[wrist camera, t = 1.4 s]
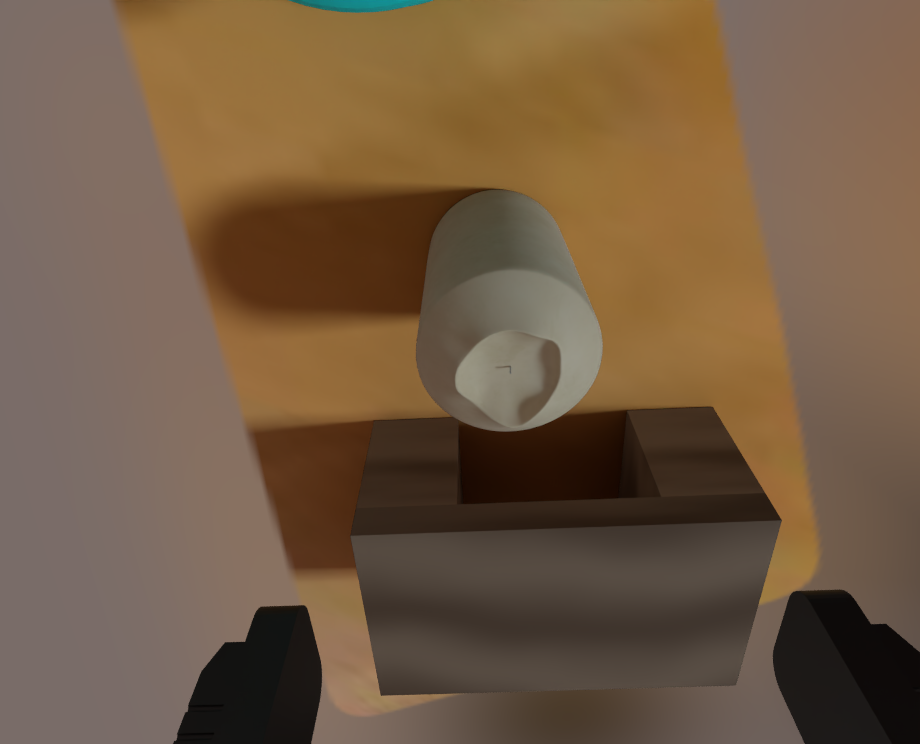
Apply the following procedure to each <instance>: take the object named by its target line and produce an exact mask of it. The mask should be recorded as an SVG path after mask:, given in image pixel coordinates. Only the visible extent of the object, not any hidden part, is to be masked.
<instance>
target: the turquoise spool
mask: <svg viewBox="0 0 920 744" xmlns="http://www.w3.org/2000/svg"><path fill="white" fill-rule="evenodd" d="M289 1H292V2H296V3H299V4H302V5H305V6H309V7H314V8H319V9H323V10H331V11H338V12H355V13H360V12H379V11H387V10H393V9H398V8H403V7H407V6H413V5H418V4H423V3H426V2H430V1H433V0H289Z"/></svg>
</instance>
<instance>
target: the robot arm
mask: <svg viewBox="0 0 920 744" xmlns="http://www.w3.org/2000/svg"><path fill="white" fill-rule="evenodd" d="M773 665H774V671H775V676H776V680H777V683H778V686H779V688H780V691H781V693H782V695H783V697H784V700H785V702H786V704H787V706H788V708H789V710H790V712H791V715H792V717H793V719H794V721H795V723H796V726H797V728H798V730H799V732H800V734H801V736H802V738H803V741H804V743H805V744H920V652H919V651H918V650H916V649H915V648H914V647H913V646H912V645H910V644H909V643H908V642H907V641H906V640H905V639H903V638H902V637H901V636H900V635H899V634H897V633H896V632H895V631H894V630H893V629H892V628H890V627H889V626H888V625H887V624H870V622H869V621H868V619H867V618H866V616H865V614H864V613H863V611H862V610H861V608H860V607H859V606H858V604H857V602H856V601H855V600H854V598H853V597H852V596H851V595H850V594H849V593H848V592H846V591H844V590H817V591H816V590H814V591H795V592H793V593H792V594H791V595H790V597H789V600H788V603H787V607H786V610H785V613H784V616H783V620H782V623H781V626H780V630H779V633H778V636H777V640H776V643H775V646H774V650H773ZM321 686H322V668H321V660H320V656H319V652H318V648H317V644H316V640H315V636H314V632H313V629H312V625H311V621H310V617H309V613H308V610H307V608H306V606H304V605H299V606H270V607H260V608H259V609H258V610H257V611H256V613H255V615H254V618H253V621H252V624H251V626H250V629H249V632H248V635H247V638H246V641H245V642H225V643H224V645H223V646H222V647H221V648H220V649H219V651H218V652H217V653H216V654H215V656H214V657H213V658H212V659H211V661H210V662H209V663H208V664H207V665H206V667H205V668H204V669H203V670H202V672H201V674H200V676H199V679H198V682H197V684H196V687H195V689H194V692H193V695H192V697H191V699H190V702H189V705H188V712H186V713H185V715H184V717H183V720H182V723H181V725H180V728H179V730H178V733H177V735H178V736H177V740H176V741H174V743H173V744H311V741H312V736H313V731H314V727H315V722H316V717H317V712H318V707H319V702H320V695H321Z"/></svg>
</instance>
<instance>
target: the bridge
mask: <svg viewBox="0 0 920 744" xmlns="http://www.w3.org/2000/svg"><path fill="white" fill-rule="evenodd" d="M781 521H782V520H781V518H780V517H779V515H778V513H777V512H776V510H775V508H774V507H773V505H772V504H771V502H770V500H769V499H768V497H767V495H766V494H765V492H764V490H763V489H762V487H761V485H760V484H759V482H758V481H757V479H756V477H755V476H754V474H753V472H752V471H751V469H750V467H749V466H748V464H747V462H746V461H745V459H744V458H743V456H742V454H741V453H740V451H739V449H738V448H737V446H736V444H735V443H734V441H733V439H732V438H731V436H730V435H729V433H728V431H727V430H726V428H725V426H724V425H723V423H722V421H721V420H720V418H719V416H718V415H717V413H716V412H715V410H714V408H713V407H699V408H675V409H651V410H627V416H626V426H625V437H624V447H623V457H622V467H621V477H620V487H619V497H618V498H616V499H589V500H562V501H535V502H509V503H482V504H463V490H462V475H461V459H460V444H459V429H458V419H456V418H432V419H408V420H383V421H374V424H373V428H372V433H371V438H370V443H369V448H368V453H367V458H366V462H365V467H364V472H363V477H362V482H361V487H360V491H359V496H358V501H357V506H356V511H355V516H354V520H353V525H352V530H351V535H350V537H351V542H352V547H353V553H354V558H355V563H356V568H357V573H358V579H359V584H360V589H361V594H362V599H363V605H364V610H365V615H366V620H367V625H368V631H369V636H370V641H371V646H372V652H373V657H374V662H375V667H376V672H377V678H378V683H379V688H380V693H381V696H382V695H417V694H452V693H484V692H485V693H487V692H520V691H521V692H522V691H556V690H590V689H627V688H661V687H696V686H730V685H736V683H737V679H738V676H739V672H740V669H741V665H742V661H743V658H744V654H745V650H746V647H747V643H748V640H749V636H750V633H751V629H752V625H753V622H754V618H755V615H756V611H757V608H758V604H759V600H760V597H761V593H762V590H763V586H764V582H765V579H766V575H767V572H768V568H769V564H770V561H771V557H772V554H773V550H774V546H775V543H776V539H777V536H778V532H779V528H780V525H781Z"/></svg>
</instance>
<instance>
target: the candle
mask: <svg viewBox="0 0 920 744" xmlns="http://www.w3.org/2000/svg"><path fill="white" fill-rule="evenodd" d="M602 346H603V344H602V335H601V330H600V327H599V323H598V320H597V318H596V316H595V313H594V311H593V308H592V306H591V303H590V301H589V299H588V296H587V294H586V291H585V289H584V287H583V284H582V282H581V279H580V277H579V275H578V272H577V270H576V267H575V265H574V262H573V260H572V258H571V255H570V253H569V250H568V248H567V246H566V243H565V241H564V238H563V236H562V234H561V232H560V229H559V227H558V225H557V224H556V222H555V220H554V219H553V217H552V216H551V215H550V214H549V212H548V211H547V210H546V209H545V208H544V207H543V206H541V205H540V204H539V203H537V202H536V201H534V200H533V199H532V198H530V197H528V196H525V195H523V194H520V193H517V192H514V191H509V190H487V191H482V192H478V193H475V194H472V195H470V196H468V197H466V198H464V199H462V200H461V201H459V202H458V203H456V204H455V205H454V206H453V207H452V208H451V209H449V210H448V212H447V213H446V214H445V215H444V216H443V217H442V219H441V220H440V222H439V223H438V225H437V227H436V229H435V231H434V233H433V236H432V239H431V242H430V248H429V253H428V260H427V267H426V275H425V283H424V290H423V298H422V305H421V313H420V320H419V328H418V336H417V343H416V361H417V368H418V371H419V375H420V378H421V380H422V382H423V385H424V387H425V388H426V390H427V392H428V393H429V395H430V396H431V397H432V399H433V400H434V401H435V402H436V403H437V404H438V405H439V406H440V407H441V408H442V409H443V410H444V411H445V412H447V413H448V414H450V415H451V416H453V417H454V418H456V419H458V420H460V421H462V422H464V423H466V424H469V425H471V426H474V427H478V428H481V429H485V430H492V431H506V432H507V431H520V430H526V429H531V428H534V427H538V426H541V425H544V424H546V423H549V422H551V421H553V420H555V419H557V418H558V417H560V416H562V415H563V414H565V413H566V412H568V411H569V410H570V409H572V408H573V407H574V406H575V405H576V404H577V403H578V402H579V401H580V400H581V399H582V398H583V397H584V396H585V394H586V393H587V392H588V390H589V389H590V387H591V386H592V384H593V382H594V380H595V378H596V376H597V373H598V370H599V367H600V364H601V358H602Z"/></svg>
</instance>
